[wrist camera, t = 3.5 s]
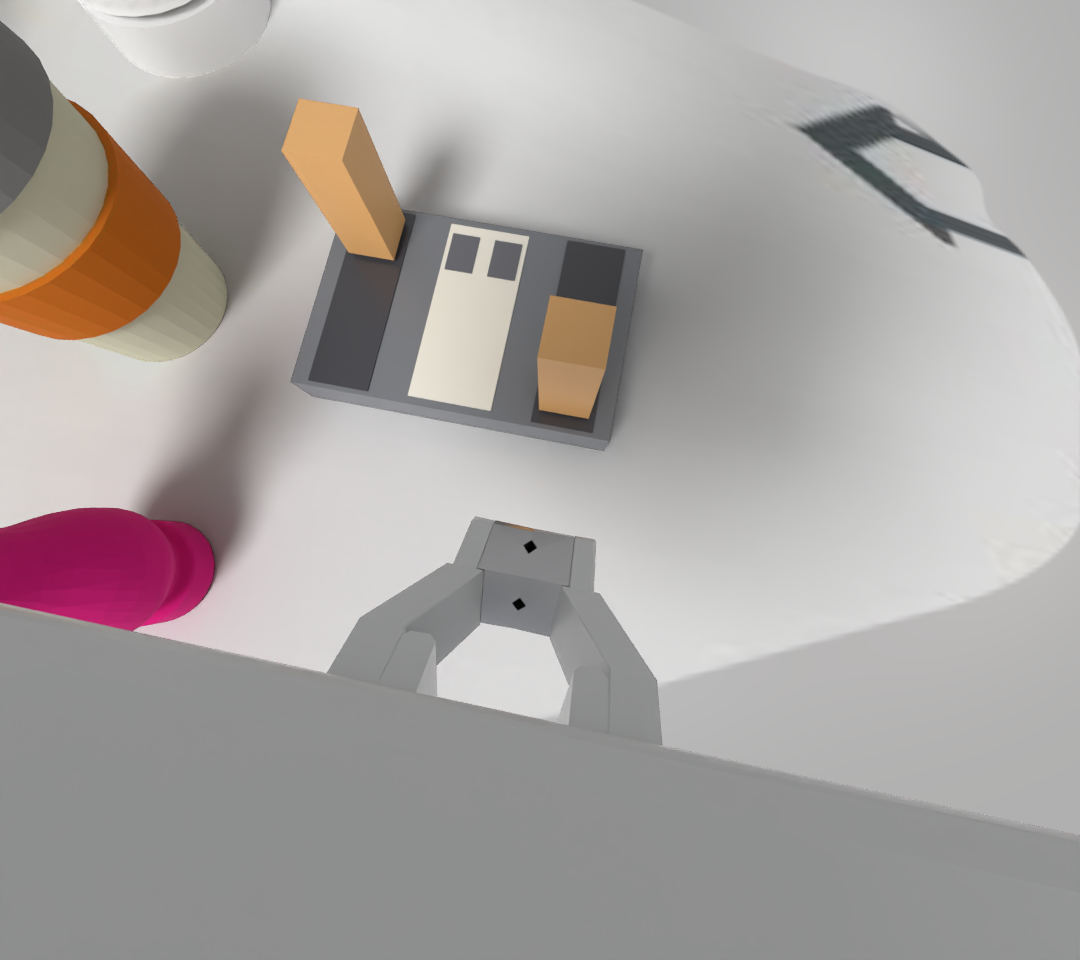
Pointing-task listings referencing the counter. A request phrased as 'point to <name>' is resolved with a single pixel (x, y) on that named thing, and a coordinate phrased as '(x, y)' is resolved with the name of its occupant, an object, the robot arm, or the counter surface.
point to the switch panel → (463, 325)
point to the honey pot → (181, 32)
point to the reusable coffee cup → (90, 230)
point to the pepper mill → (105, 567)
